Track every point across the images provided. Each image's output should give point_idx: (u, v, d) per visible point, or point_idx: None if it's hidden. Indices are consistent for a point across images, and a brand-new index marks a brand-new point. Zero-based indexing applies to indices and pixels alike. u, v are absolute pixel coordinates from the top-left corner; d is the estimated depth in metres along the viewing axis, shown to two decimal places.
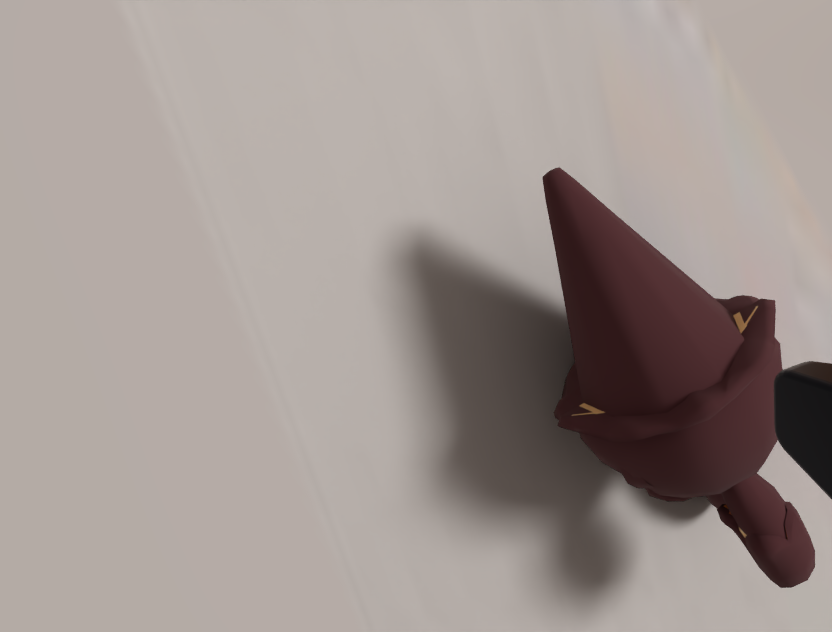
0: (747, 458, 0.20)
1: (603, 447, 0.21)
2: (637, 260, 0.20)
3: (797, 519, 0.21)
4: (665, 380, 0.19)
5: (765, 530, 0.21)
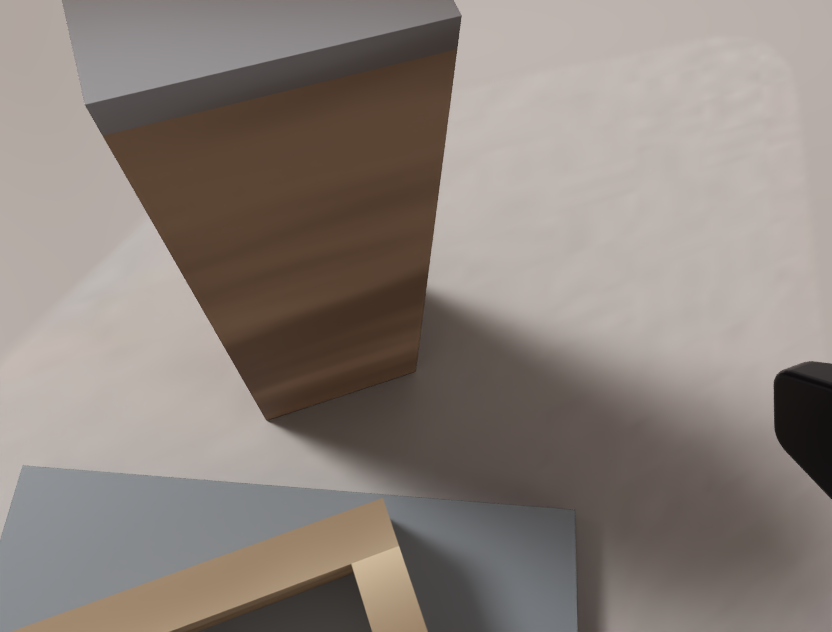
0: None
1: None
2: None
3: None
4: None
5: None
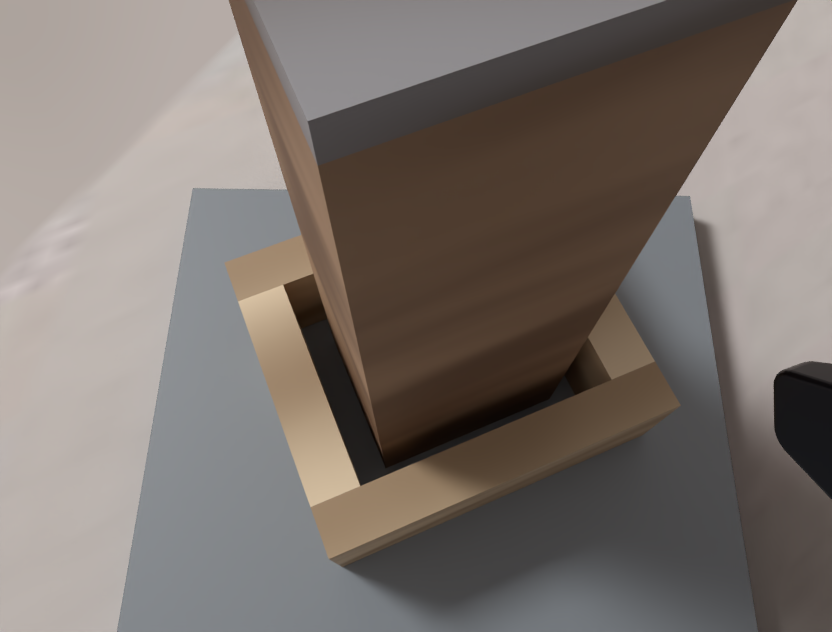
0: None
1: None
2: None
3: None
4: None
5: None
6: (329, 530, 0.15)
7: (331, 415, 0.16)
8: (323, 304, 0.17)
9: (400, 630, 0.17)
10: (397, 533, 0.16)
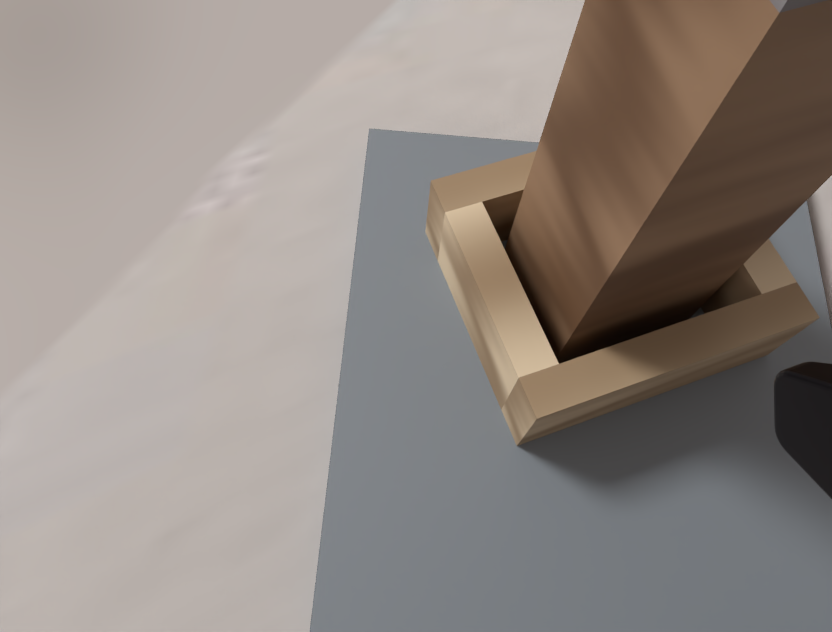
0: None
1: None
2: None
3: None
4: None
5: None
6: (535, 396, 0.18)
7: (530, 307, 0.20)
8: (518, 219, 0.21)
9: (568, 499, 0.20)
10: (583, 408, 0.19)
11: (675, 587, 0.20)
